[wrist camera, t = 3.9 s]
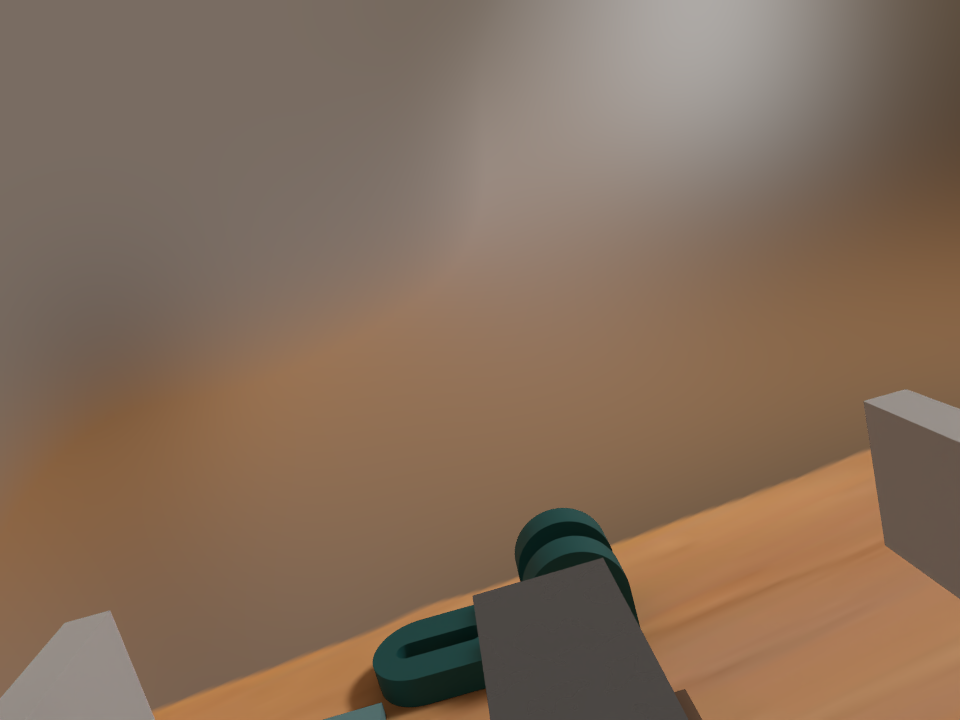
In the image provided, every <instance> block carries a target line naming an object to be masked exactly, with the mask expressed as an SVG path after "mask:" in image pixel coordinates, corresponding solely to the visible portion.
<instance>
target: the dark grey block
mask: <svg viewBox="0 0 960 720" xmlns="http://www.w3.org/2000/svg"><path fill="white" fill-rule="evenodd" d="M473 602H474V609H475V616H476V623H477V630H478V637H479V644H480V651H481V658H482V665H483V672H484V679H485V686H486V692H487V699H488V706H489V713H490V720H688V718H687V716H686V714H685V712H684V710H683V708H682V706H681V704H680V703H679V701H678V699H677V697H676V695H675V693H674V691H673V689H672V687H671V686H670V684H669V682H668V680H667V678H666V676H665V674H664V672H663V670H662V669H661V667H660V665H659V663H658V661H657V659H656V657H655V655H654V653H653V651H652V650H651V648H650V646H649V644H648V642H647V640H646V638H645V636H644V634H643V633H642V631H641V629H640V627H639V625H638V623H637V621H636V619H635V617H634V616H633V614H632V612H631V610H630V608H629V606H628V604H627V602H626V600H625V598H624V597H623V595H622V593H621V591H620V589H619V587H618V585H617V583H616V581H615V580H614V578H613V576H612V574H611V572H610V570H609V568H608V566H607V564H606V563H605V561H604V559H603V558H600V559H597V560H593V561H590V562H587V563H583V564H580V565H576V566H573V567H570V568H566V569H563V570H559V571H556V572H552V573H549V574H546V575H542V576H539V577H535V578H532V579H528V580H525V581H522V582H518V583H515V584H511V585H508V586H505V587H501V588H498V589H494V590H491V591H487V592H484V593H481V594H477V595H474V596H473Z"/></svg>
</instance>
